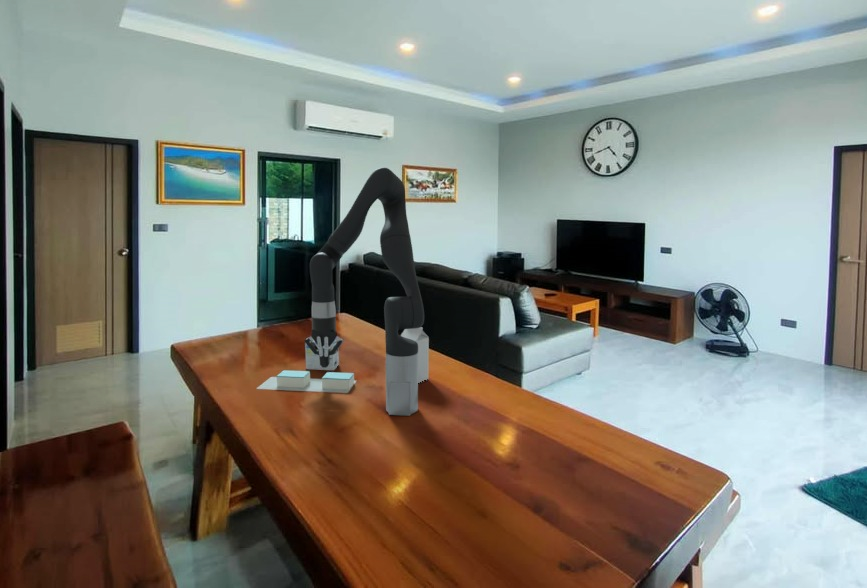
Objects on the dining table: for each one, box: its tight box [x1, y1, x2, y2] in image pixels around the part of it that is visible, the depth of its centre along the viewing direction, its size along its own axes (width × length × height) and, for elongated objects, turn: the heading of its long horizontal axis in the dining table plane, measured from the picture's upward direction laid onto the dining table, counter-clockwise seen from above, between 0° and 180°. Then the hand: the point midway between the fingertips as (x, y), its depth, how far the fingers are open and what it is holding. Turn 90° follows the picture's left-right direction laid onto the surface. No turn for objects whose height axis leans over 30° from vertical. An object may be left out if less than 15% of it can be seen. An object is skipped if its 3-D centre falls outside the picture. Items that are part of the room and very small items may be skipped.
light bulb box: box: [304, 339, 340, 371], centre depth 188 cm, size 11×7×11 cm, turn 84°
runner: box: [256, 376, 358, 394], centre depth 170 cm, size 12×30×1 cm, turn 84°
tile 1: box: [276, 370, 311, 388], centre depth 170 cm, size 6×4×9 cm
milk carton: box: [400, 327, 430, 384], centre depth 174 cm, size 7×7×19 cm
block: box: [321, 371, 355, 391], centre depth 168 cm, size 6×4×9 cm
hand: (325, 366), depth 168 cm, fingers closed
